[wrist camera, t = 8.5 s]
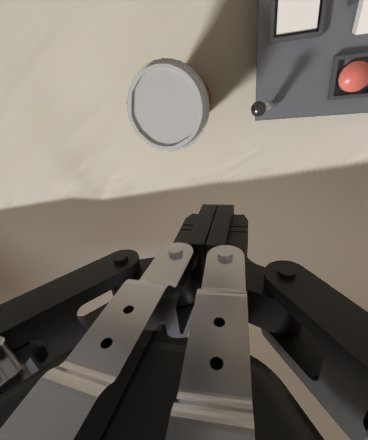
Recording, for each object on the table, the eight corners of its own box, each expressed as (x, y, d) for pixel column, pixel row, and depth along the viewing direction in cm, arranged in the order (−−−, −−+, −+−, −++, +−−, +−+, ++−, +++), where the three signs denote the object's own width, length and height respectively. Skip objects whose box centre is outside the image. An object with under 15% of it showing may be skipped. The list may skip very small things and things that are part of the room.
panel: (259, -34, 29) (260, -50, 25) (420, -71, 24) (449, -97, 21) (255, 117, 36) (255, 122, 32) (377, 108, 32) (393, 112, 28)
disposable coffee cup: (184, 46, 34) (152, 33, 24) (235, 95, 35) (226, 103, 25) (147, 105, 39) (108, 115, 29) (193, 146, 40) (172, 170, 30)
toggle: (269, 96, 32) (249, 102, 27) (282, 95, 31) (263, 101, 26) (268, 109, 33) (248, 118, 28) (281, 109, 32) (262, 117, 27)
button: (339, 63, 28) (342, 62, 27) (370, 59, 28) (374, 58, 27) (334, 92, 30) (337, 93, 29) (364, 90, 29) (367, 90, 28)
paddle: (278, -11, 27) (279, -15, 26) (320, -20, 26) (322, -23, 25) (275, 35, 29) (276, 33, 28) (314, 29, 27) (316, 27, 26)
